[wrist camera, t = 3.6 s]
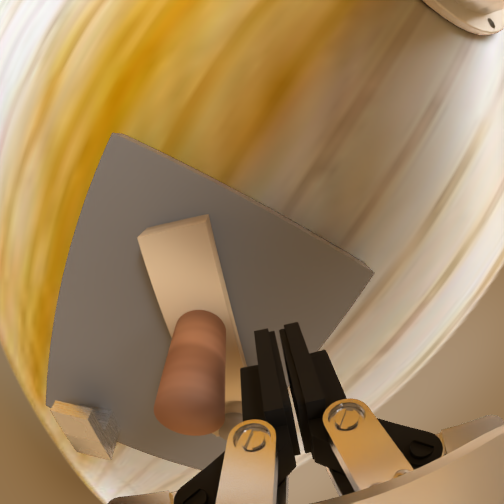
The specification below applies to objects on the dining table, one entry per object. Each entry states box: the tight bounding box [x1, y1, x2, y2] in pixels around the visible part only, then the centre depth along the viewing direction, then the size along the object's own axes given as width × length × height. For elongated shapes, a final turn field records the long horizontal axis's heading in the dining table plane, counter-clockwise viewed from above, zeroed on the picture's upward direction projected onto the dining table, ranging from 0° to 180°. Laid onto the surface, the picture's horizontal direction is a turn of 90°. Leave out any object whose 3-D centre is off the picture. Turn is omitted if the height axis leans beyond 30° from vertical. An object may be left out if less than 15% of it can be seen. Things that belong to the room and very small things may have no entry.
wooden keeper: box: [50, 400, 120, 460], centre depth 16 cm, size 3×5×3 cm, turn 179°
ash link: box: [137, 214, 247, 440], centre depth 13 cm, size 14×4×7 cm, turn 11°
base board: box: [46, 133, 374, 470], centre depth 17 cm, size 22×15×2 cm
